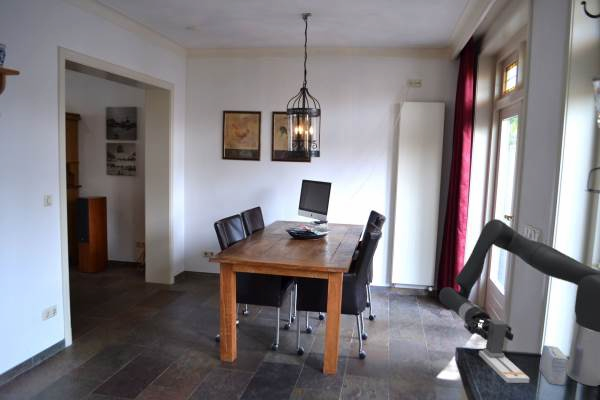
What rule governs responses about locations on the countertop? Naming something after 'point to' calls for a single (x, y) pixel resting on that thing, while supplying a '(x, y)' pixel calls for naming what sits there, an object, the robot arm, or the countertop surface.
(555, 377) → the medicine box
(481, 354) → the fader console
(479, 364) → the countertop surface
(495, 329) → the fader tab
